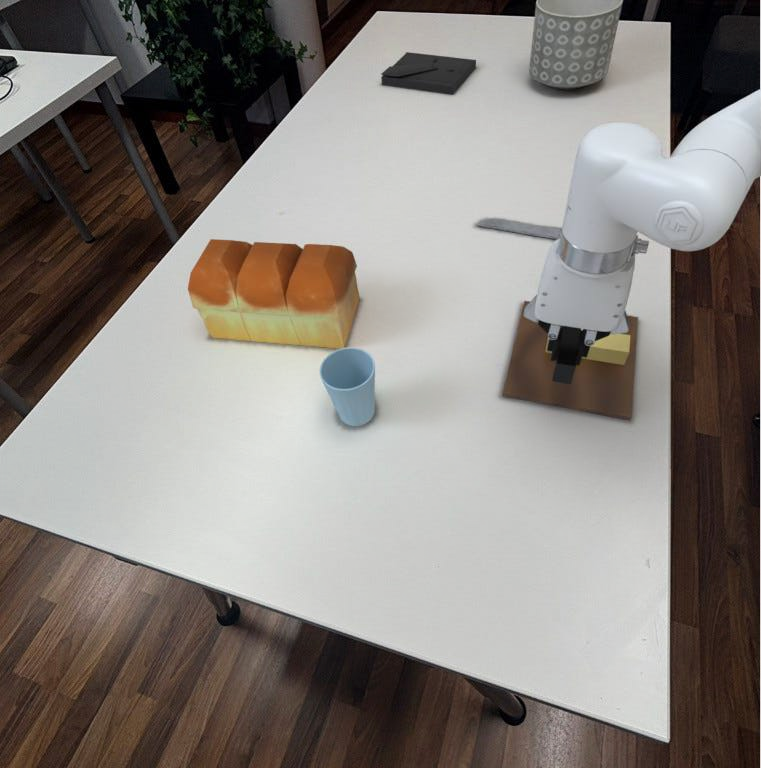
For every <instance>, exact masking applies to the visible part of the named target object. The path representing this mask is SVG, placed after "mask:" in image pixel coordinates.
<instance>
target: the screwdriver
mask: <svg viewBox="0 0 761 768" xmlns="http://www.w3.org/2000/svg"><path fill="white" fill-rule="evenodd" d="M562 327H563V331H562V337H561V342H560V346H559V349H558V353H557V357H556V360H555V366H554V372H553V378H552V381H554V382H559V383H565V384H570V385H571V382H572V379H573V375H574V372H575V369H576V363H577V356H578V346H579V339H580V333H581V328H575V327H569V326H562Z"/></svg>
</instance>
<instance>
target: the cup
mask: <svg viewBox="0 0 761 768" xmlns="http://www.w3.org/2000/svg"><path fill="white" fill-rule="evenodd" d="M319 377H320V379H321V381H322V384H323V386H324V388H325V390H326V391H327V393H328V396H329V398H330V400H331V402H332V404H333V407H334V408H335V410H336V413H337V414H338V417H339V418H340V420H341V422H343V423H344V424H346V425H347V426H350V427H361V426H364V425H366V424H367V423H369V422H370V421H371V420H372V419H373V417H374V415H375V413H376V412H375V411H376V383H375V382H376V363H375V360H374V358H373V356H372V355H371V354H370V353H369V352H368V351H366V350H364V349H362V348H358V347H352V346H351V347H350V346H349V347H345V348H342V349H336V350H334V351H331V353H329V354H328V355H326V356H325V357H324V358H323V360H322V362H321V363H320V366H319Z"/></svg>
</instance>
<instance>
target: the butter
mask: <svg viewBox="0 0 761 768" xmlns="http://www.w3.org/2000/svg"><path fill="white" fill-rule="evenodd" d="M581 330H583V329H581ZM629 348H630V335H625V334H614V335H613V334H610V335H609V336H607V337H605V338H602V339H600V340H597V341H595V343H594V345H592V346H590V349H589V352H588V355H587V357H582V358H583V359H589V360H595V361H602V362H608V363H614V364H620V365H625V362H626V359H627V357H628V354H629Z"/></svg>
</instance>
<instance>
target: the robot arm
mask: <svg viewBox="0 0 761 768" xmlns="http://www.w3.org/2000/svg"><path fill="white" fill-rule="evenodd" d="M663 153H664V152H663V144H662V141H661V139H660V137H659V136H658V135H657V133H655V132H654V131H653V130H651V129H649V128H648V127H646V126H644V125H640V124H638V123H635V122H634V123H633V122H628V121H627V122H626V121H615V122H614V121H613V122H607V123H603V124H600V125H598V126H596V127H593V128H591V129H590V130H589V131H588V132H587V133H586V134H585V135H584V136H583V137H582V138H581V140H580V142H579V144H578V147H577V150H576V153H575V159H574V162H573V163H574V164H573V169H572V173H571V179H570V185H569V190H568V195H567V200H566V205H565V209H564V215H563V219H562V220H563V221H562V225H561V235H560V239H555V240H554V241H553V242H552V244H551V246H550V248H549V249H548V253H547V255H546V257H545V260H544V264H543V267H542V271H541V275H540V278H539V279H540V280H539V283H538V287H537V291H536V292H537V294H535V296H534V297H533V298H532V299H531V300H530V303H529V304H528V305H527V306H526V307H525V310H524V317H526V318H528V319H529V320H531V321H533V322H537V323H538V325H539V326H540V327H541V328H542V329H543V330H544V331H545V332H546V333H547V334H548V338H549V343H548V348H547V351H551V352H552V355H551V360H550V361H555V360H556V357H557V353H558V349H559V346H560V342H561V337H562V331H563V327H562V326H569V327H575V328H581V329H583V330H581V333H580V339H579V346H578V356H577V363H576V365H578V366H579V365H580V362H581V358H582V357H587V355H588V352H589V349H590V346H592V345H594V343H595V341H597V340H600V339H602V338H605V337H607V336H609V335H610V334H613V335H614V334H622V333H627V332H628V331H629V320H628V317H627V316H628V315H627V311H626V310H627V309H626V308H627V305H628V301H629V296H630V293H631V288H632V283H633V277H634V272H635V267H636V255H639V254H643V255H646V254H647V252H648V249H649V245H650V241H649V240H645V239H643V238H639V235H638V233H639V234H641V235H643V236H645V237H646V238H648V239H650V240H652V241H653V242H655V243H656V244H659V245H661V246H664V247H666V248H669V249H671V250H677V251H681V252H696V251H700V250H704V249H706V248H709V247H712V245H714V244H715V243H717V242H718V241H720V240H721V238H723V236H725V234H726V233H727V232H728V230H729V229H730V227H731V226H732V224H733V222H734V220H735V218H736V217H737V214H738V212H739V211H740V208H741V206H742V205H743V202H744V201H745V199H746V196H747V195H748V193H749V191H750V189H751V187H752V186H753V183H754V182H755V180H756V179H759V178H760V177H761V88H760V89H757V90H756V91H754V92H752V93H750V94H749V95H747V96H745V97H743V98H741V99H739V100H737V101H736V102H733V103H732V104H730V105H728V106H726V107H724V108H722V109H721V110H720V111H717V112H716V113H714V114H712V115H710V116H709V117H707V118H706V119H704V120H703V121H701V122H700V123H698V124H697V125H696V126H695V127H694V128H692V129H691V130H690V131H689V132H688V133H687V134H686V135H685V136H684V137H683V138H682V140H681V141H680V142H679V143H678V145H677V146H676V147H675V149H674V150H673V152H672V153H671V154H670V156H669V157H665V156H664V155H663Z"/></svg>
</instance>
